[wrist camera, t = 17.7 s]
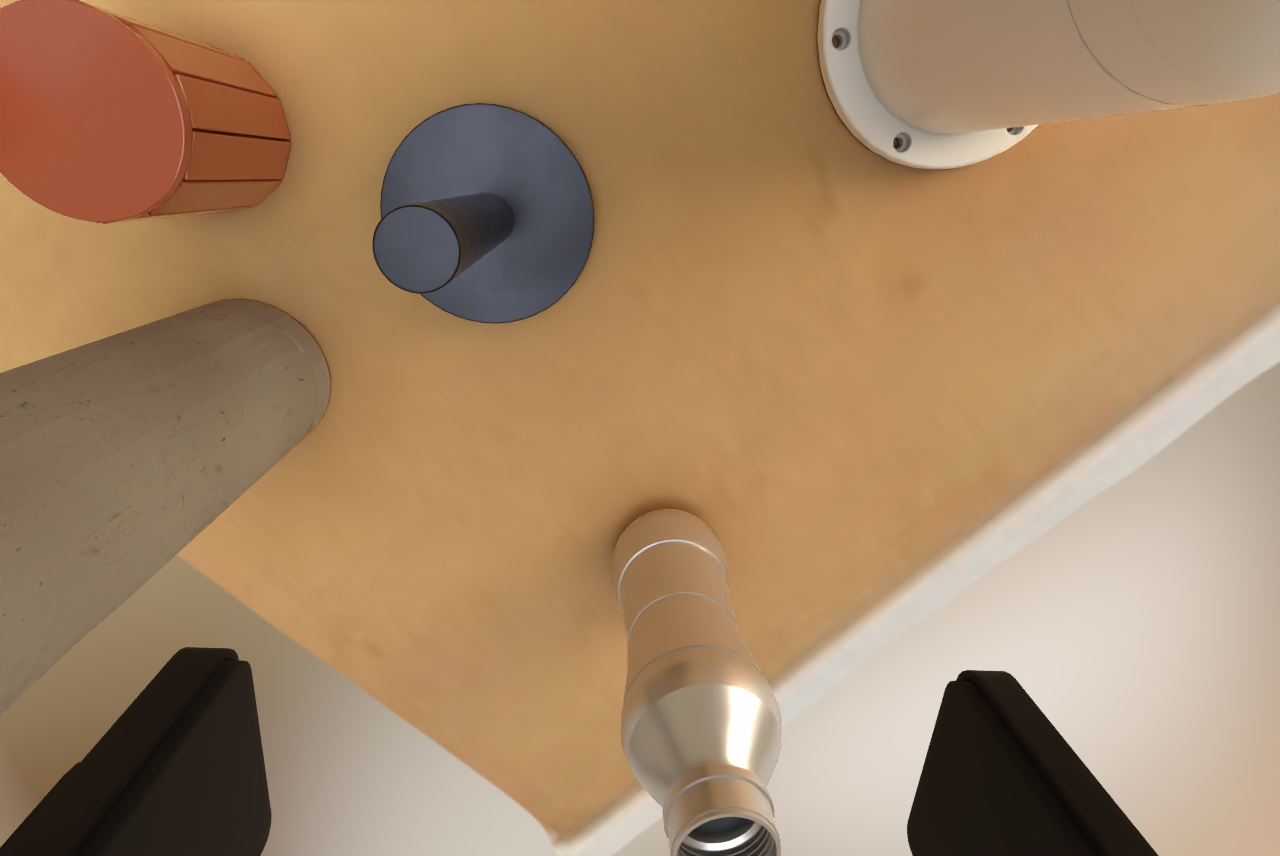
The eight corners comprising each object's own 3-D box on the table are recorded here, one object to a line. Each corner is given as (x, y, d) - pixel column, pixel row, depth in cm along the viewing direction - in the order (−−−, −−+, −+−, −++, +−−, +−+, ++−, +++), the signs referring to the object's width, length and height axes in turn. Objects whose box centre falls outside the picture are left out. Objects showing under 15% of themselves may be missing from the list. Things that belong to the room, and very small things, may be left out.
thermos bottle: (242, 474, 38) (-544, 1147, 12) (134, 350, 35) (-1194, 856, 9) (363, 400, 37) (-194, 951, 11) (260, 268, 34) (-804, 565, 8)
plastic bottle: (620, 604, 42) (644, 946, 24) (600, 505, 40) (608, 796, 21) (725, 586, 42) (832, 912, 24) (711, 485, 40) (818, 758, 21)
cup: (142, 17, 31) (-29, -43, 22) (304, 84, 32) (202, 52, 23) (117, 175, 33) (-48, 176, 24) (271, 233, 34) (166, 252, 25)
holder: (420, 69, 32) (270, -26, 17) (624, 156, 34) (651, 142, 19) (363, 276, 35) (193, 352, 20) (554, 346, 37) (530, 465, 22)
